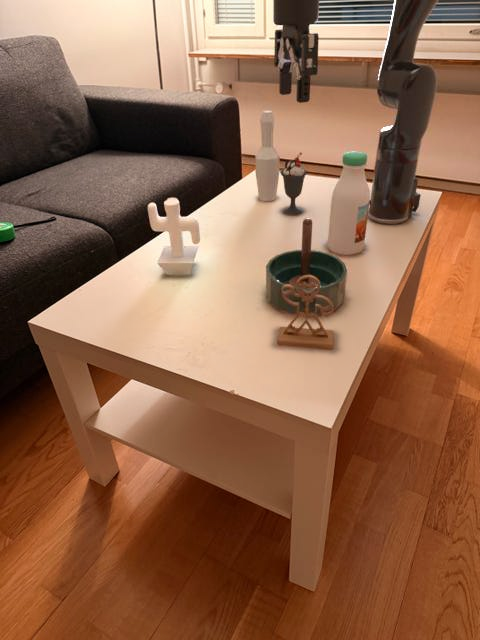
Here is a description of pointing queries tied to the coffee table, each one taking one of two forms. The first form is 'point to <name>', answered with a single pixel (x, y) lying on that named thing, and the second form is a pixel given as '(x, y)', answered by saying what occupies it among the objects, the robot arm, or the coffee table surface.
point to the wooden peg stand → (305, 254)
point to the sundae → (293, 183)
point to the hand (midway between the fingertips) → (293, 98)
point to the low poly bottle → (267, 161)
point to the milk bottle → (349, 206)
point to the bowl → (321, 267)
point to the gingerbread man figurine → (303, 335)
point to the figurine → (175, 237)
